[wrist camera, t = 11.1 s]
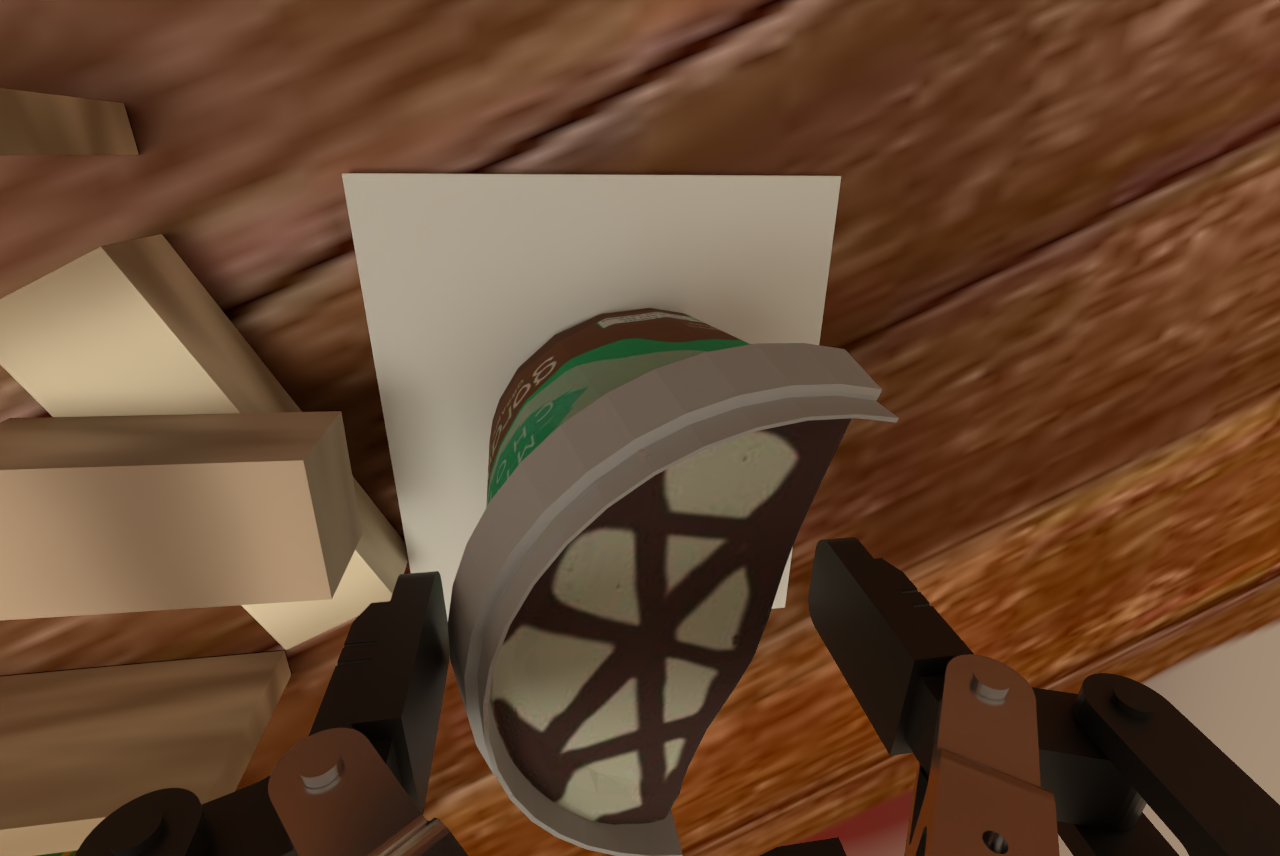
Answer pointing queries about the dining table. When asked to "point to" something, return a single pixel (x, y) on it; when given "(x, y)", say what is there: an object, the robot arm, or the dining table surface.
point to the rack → (128, 694)
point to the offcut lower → (170, 385)
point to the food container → (634, 557)
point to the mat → (555, 298)
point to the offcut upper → (173, 512)
